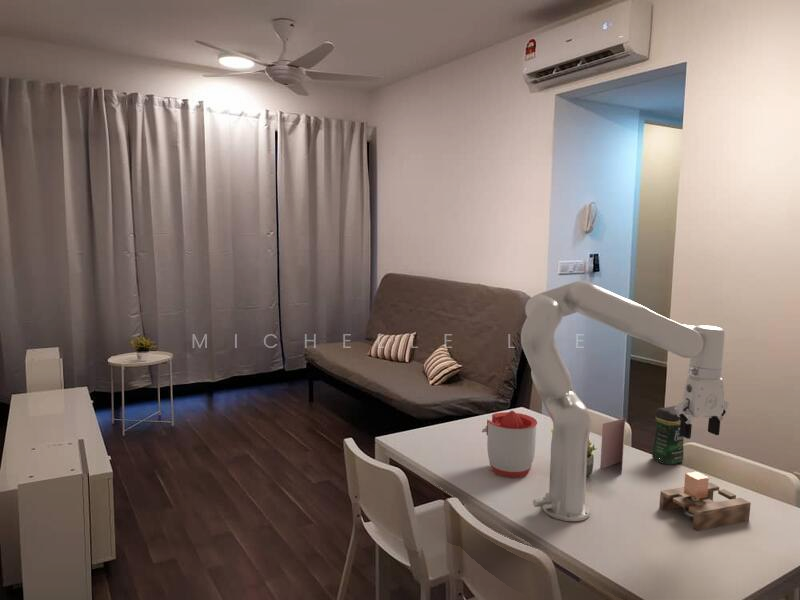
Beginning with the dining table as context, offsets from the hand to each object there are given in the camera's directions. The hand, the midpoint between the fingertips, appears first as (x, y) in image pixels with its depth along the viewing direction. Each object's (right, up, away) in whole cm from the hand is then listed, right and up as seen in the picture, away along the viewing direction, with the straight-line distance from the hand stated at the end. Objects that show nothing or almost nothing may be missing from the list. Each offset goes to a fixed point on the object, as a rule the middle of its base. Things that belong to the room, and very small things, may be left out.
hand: (699, 435), depth 156 cm
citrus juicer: (-46, -19, +31) cm, 58 cm away
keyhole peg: (0, -23, +3) cm, 23 cm away
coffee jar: (+10, -18, +41) cm, 46 cm away
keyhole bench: (+3, -22, +4) cm, 23 cm away
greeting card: (-9, -19, +34) cm, 40 cm away
